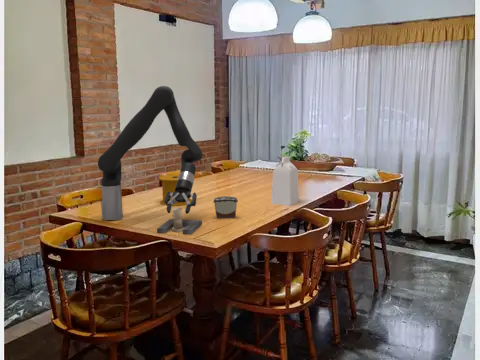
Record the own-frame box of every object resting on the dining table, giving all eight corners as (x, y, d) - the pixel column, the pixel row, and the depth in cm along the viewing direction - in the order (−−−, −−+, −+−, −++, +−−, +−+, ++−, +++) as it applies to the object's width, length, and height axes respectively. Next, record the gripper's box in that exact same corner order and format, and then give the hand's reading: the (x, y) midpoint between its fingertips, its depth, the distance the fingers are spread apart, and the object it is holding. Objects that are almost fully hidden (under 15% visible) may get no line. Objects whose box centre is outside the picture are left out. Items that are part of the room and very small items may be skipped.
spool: (186, 206, 245) (185, 180, 242) (155, 205, 249) (154, 179, 246) (195, 199, 262) (195, 174, 260) (167, 198, 266) (166, 174, 263)
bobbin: (170, 231, 199) (169, 210, 197) (174, 228, 204) (173, 207, 202) (181, 232, 198) (180, 210, 196) (185, 228, 203) (184, 207, 201)
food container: (238, 215, 225) (237, 195, 224) (238, 218, 219) (238, 198, 218) (213, 215, 225) (213, 196, 223) (213, 218, 219) (212, 199, 217)
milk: (280, 199, 259) (280, 155, 254) (298, 201, 253) (299, 156, 248) (271, 203, 248) (271, 157, 244) (290, 206, 243) (290, 159, 238)
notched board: (157, 232, 197) (156, 228, 197) (169, 222, 213) (169, 218, 212) (191, 234, 194) (191, 230, 194) (202, 224, 209) (201, 220, 209)
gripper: (168, 178, 207) (160, 207, 198) (197, 178, 204) (190, 209, 195) (172, 187, 213) (164, 216, 204) (201, 187, 210) (194, 217, 201)
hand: (177, 212), depth 200 cm, fingers open, 8 cm apart
